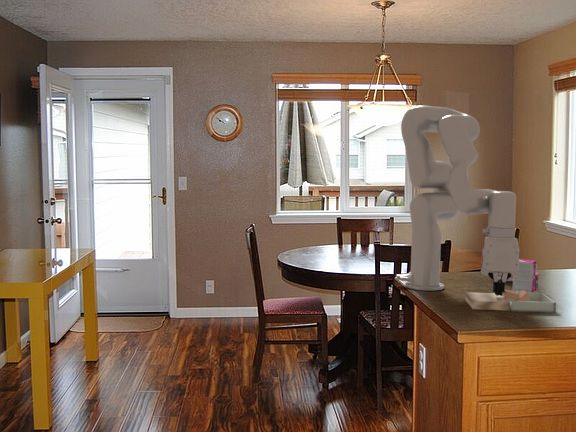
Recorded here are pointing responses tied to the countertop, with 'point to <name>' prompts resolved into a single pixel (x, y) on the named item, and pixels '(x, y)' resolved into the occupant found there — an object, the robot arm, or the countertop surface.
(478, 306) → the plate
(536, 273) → the pill bottle
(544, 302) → the tray
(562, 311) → the countertop surface
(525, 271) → the supplement box
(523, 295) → the tile
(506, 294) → the tile
